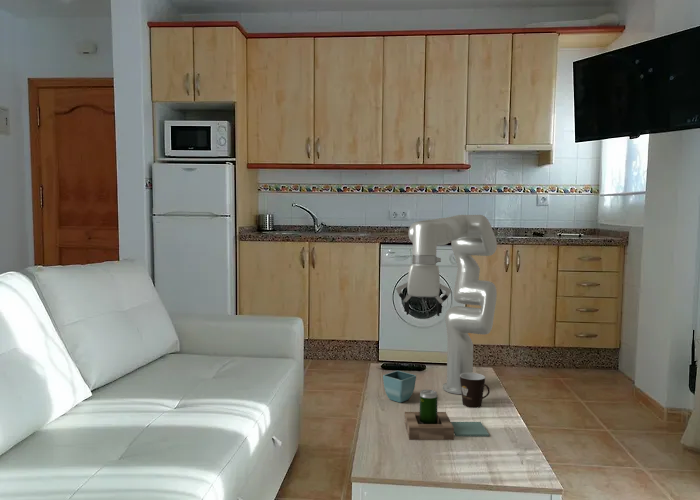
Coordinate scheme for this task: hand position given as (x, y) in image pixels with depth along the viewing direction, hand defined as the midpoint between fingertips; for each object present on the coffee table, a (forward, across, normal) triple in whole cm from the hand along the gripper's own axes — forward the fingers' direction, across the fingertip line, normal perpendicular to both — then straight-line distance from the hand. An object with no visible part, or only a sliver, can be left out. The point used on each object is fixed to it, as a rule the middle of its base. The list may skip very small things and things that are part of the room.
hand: (422, 314), depth 169 cm
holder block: (+34, -2, +8) cm, 35 cm away
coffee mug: (+34, -18, -16) cm, 42 cm away
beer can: (+34, -2, +8) cm, 35 cm away
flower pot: (+34, +7, -19) cm, 39 cm away
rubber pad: (+34, -15, +5) cm, 37 cm away
